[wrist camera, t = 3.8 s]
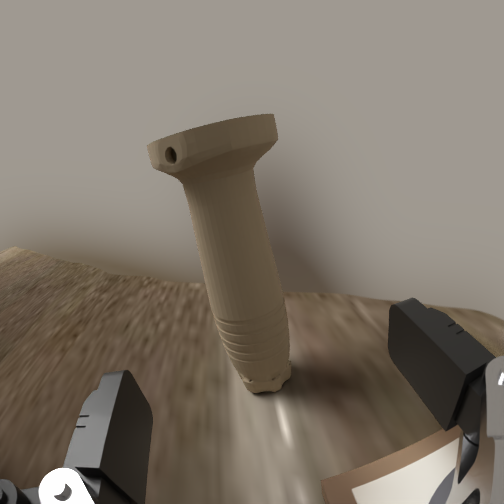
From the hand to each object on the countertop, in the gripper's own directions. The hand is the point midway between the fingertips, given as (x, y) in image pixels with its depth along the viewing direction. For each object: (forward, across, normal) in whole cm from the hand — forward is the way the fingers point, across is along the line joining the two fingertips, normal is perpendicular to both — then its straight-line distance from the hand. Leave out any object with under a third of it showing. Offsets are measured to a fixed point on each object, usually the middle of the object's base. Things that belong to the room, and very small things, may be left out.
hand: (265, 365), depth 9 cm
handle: (+8, 0, +8) cm, 11 cm away
